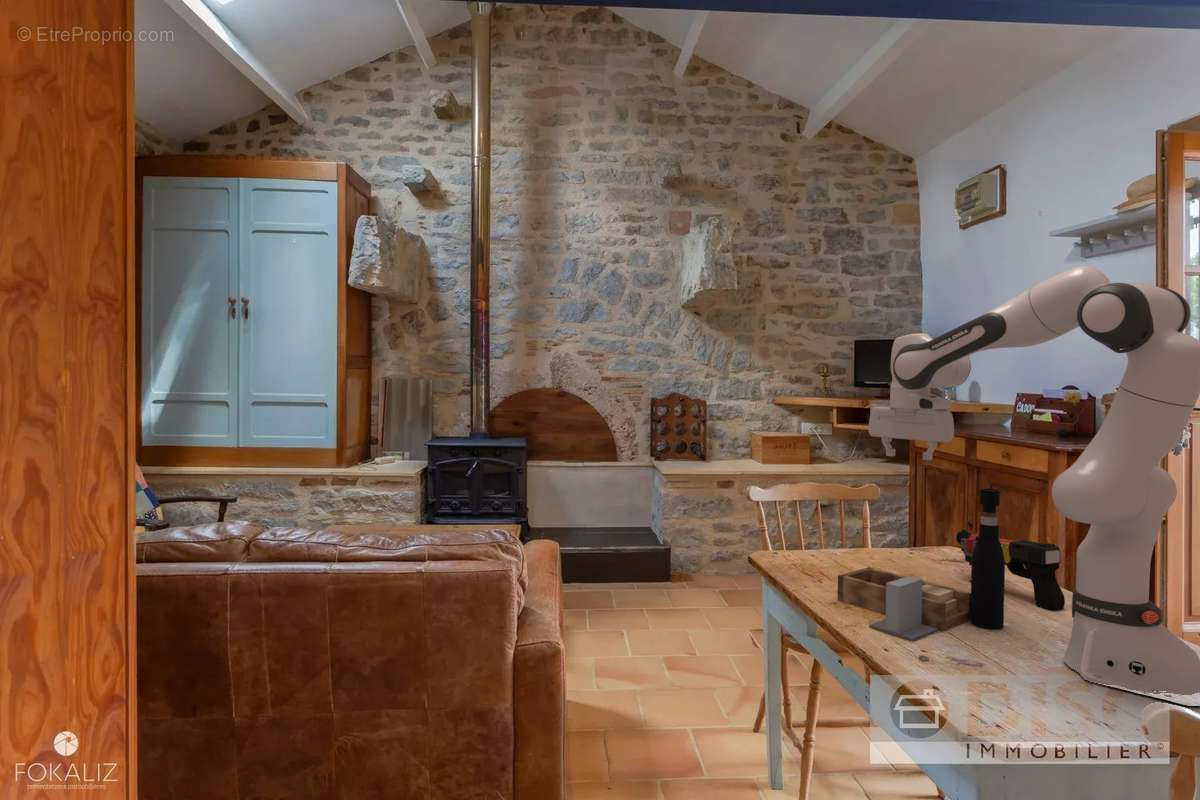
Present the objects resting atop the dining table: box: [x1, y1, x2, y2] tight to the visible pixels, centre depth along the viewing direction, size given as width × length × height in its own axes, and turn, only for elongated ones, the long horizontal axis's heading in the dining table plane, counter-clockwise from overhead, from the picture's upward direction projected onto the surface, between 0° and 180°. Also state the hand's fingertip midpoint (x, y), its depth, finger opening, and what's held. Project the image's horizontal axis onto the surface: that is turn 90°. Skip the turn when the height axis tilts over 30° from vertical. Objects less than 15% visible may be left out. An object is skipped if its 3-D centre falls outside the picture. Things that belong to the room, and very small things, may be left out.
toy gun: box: [956, 528, 1066, 611], centre depth 177 cm, size 6×28×15 cm, turn 19°
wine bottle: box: [969, 488, 1006, 631], centre depth 154 cm, size 6×6×30 cm
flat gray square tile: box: [868, 618, 939, 642], centre depth 151 cm, size 10×10×1 cm
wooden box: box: [837, 567, 971, 632], centre depth 164 cm, size 26×13×6 cm, turn 36°
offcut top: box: [922, 584, 953, 602], centre depth 158 cm, size 6×6×2 cm
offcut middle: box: [945, 599, 957, 615], centre depth 158 cm, size 7×7×2 cm
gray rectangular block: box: [885, 575, 924, 633], centre depth 151 cm, size 3×9×10 cm, turn 126°
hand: (908, 458), depth 169 cm, fingers open, 8 cm apart
